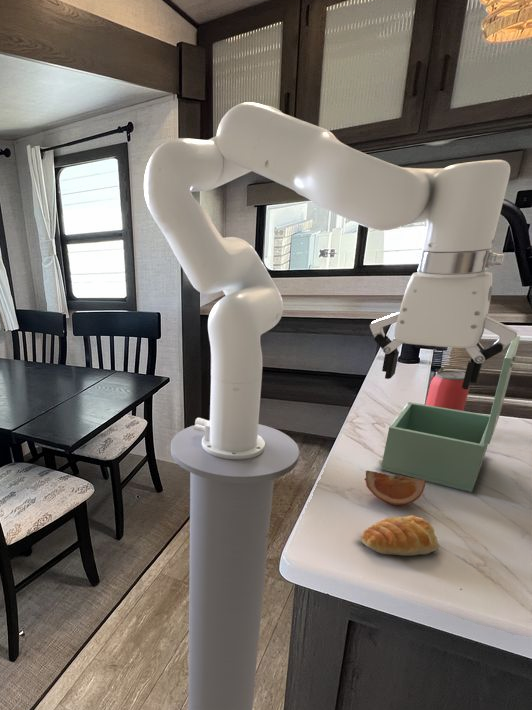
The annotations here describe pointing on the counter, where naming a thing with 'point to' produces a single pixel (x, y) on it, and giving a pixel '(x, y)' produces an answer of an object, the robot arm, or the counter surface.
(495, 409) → the bin lid
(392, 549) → the pastry
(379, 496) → the fruit slice
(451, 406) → the beer can
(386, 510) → the counter surface
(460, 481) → the bin
